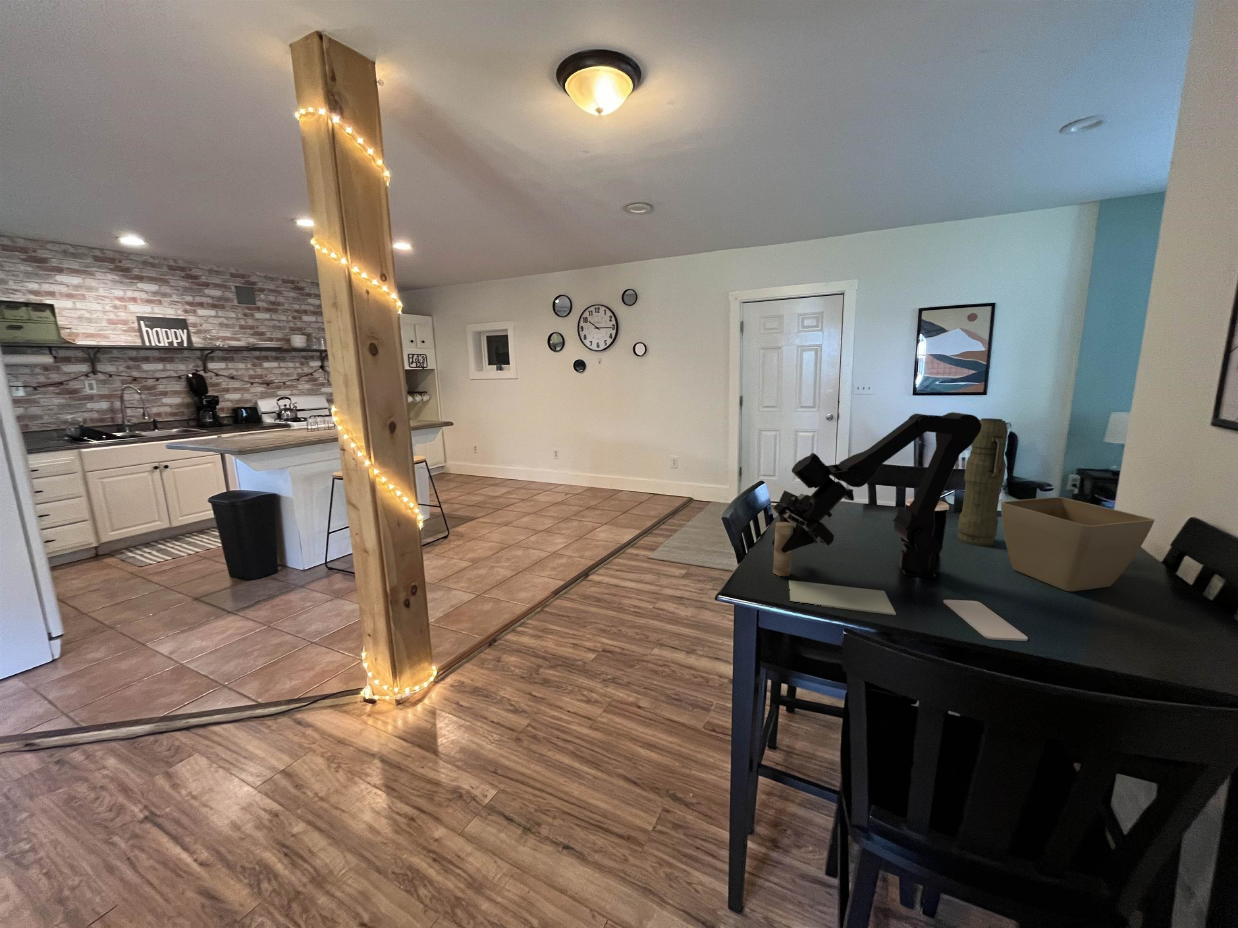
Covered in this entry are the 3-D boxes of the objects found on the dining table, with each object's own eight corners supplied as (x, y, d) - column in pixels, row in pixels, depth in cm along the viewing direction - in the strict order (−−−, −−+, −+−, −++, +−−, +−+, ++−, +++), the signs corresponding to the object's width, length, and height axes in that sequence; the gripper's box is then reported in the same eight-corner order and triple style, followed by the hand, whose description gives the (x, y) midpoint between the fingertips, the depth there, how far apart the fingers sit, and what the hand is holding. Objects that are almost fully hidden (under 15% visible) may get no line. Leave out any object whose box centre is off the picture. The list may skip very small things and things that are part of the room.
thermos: (976, 533, 143) (992, 417, 136) (1006, 548, 131) (1025, 421, 124) (946, 533, 143) (960, 417, 136) (973, 548, 131) (990, 421, 125)
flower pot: (1142, 591, 105) (1158, 518, 102) (1075, 601, 101) (1089, 525, 98) (1048, 559, 123) (1059, 496, 120) (989, 566, 119) (998, 501, 116)
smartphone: (978, 600, 101) (1030, 639, 86) (977, 604, 101) (1030, 642, 86) (941, 599, 102) (987, 636, 87) (941, 602, 102) (986, 640, 87)
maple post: (789, 571, 118) (792, 522, 115) (790, 577, 114) (793, 527, 112) (772, 569, 119) (775, 521, 116) (772, 575, 115) (775, 526, 113)
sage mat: (884, 592, 106) (884, 590, 106) (895, 615, 96) (895, 613, 96) (788, 581, 112) (788, 580, 112) (790, 602, 102) (790, 600, 102)
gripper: (781, 471, 122) (739, 516, 122) (825, 488, 104) (776, 540, 104) (808, 499, 125) (766, 542, 125) (855, 521, 107) (807, 571, 107)
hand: (777, 548), depth 115 cm, fingers closed on maple post, 4 cm apart
